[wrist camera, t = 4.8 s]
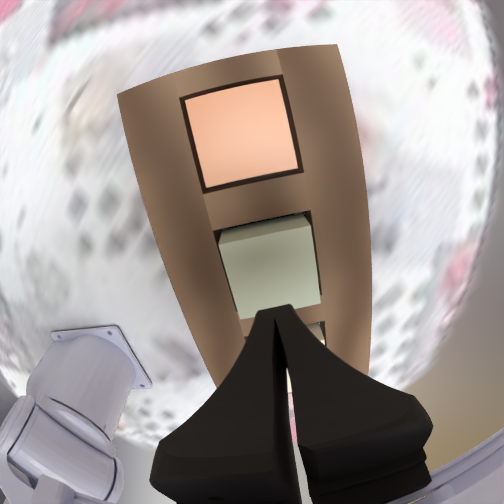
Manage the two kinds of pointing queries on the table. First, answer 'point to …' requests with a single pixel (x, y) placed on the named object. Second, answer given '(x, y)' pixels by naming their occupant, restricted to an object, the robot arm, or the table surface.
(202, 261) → the button panel
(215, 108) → the terracotta button
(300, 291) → the sage button
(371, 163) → the table surface
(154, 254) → the table surface
